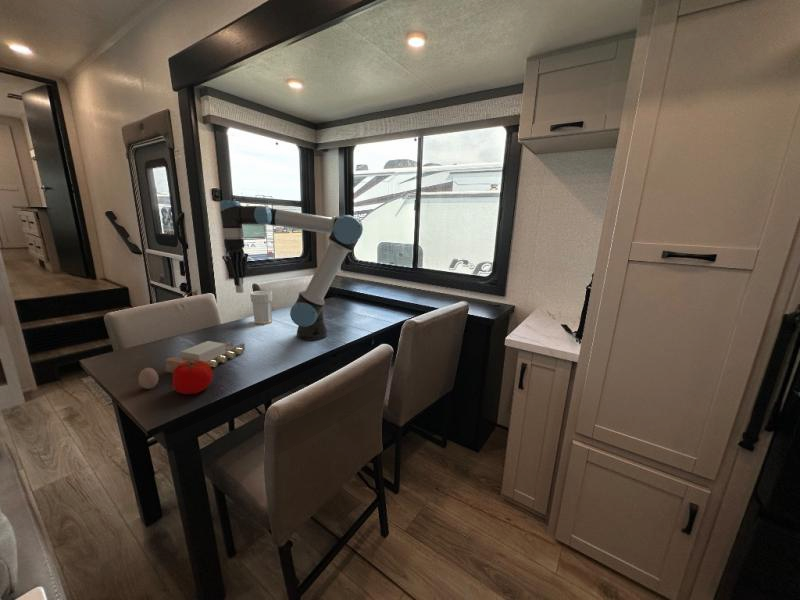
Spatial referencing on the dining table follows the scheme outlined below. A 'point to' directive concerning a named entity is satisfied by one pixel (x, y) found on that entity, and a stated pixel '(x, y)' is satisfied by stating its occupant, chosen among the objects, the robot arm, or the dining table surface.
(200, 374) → the tomato
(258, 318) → the cup
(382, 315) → the dining table surface
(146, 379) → the egg
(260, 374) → the dining table surface
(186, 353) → the paver
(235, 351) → the rack with metal cylinders
